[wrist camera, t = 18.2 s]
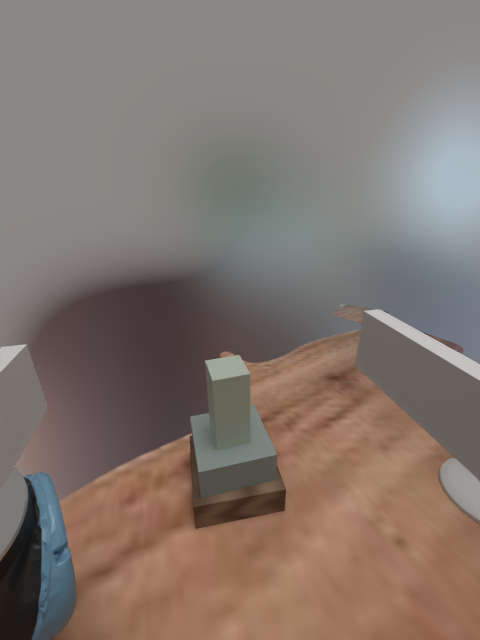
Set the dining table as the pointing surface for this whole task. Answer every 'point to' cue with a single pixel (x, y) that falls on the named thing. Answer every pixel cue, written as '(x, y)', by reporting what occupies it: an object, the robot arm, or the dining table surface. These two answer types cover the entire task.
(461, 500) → the candlestick
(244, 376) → the sage pillar block
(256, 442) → the slate top block
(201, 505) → the walnut base block
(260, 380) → the dining table surface
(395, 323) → the robot arm
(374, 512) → the dining table surface
